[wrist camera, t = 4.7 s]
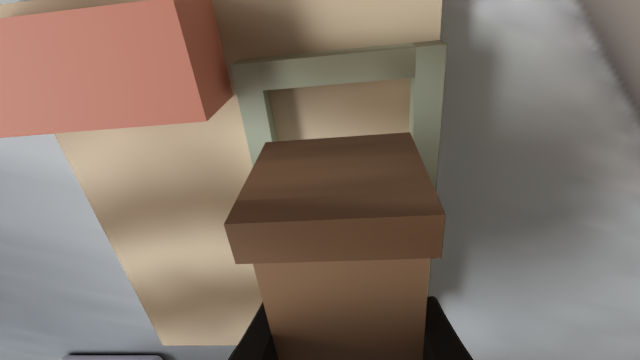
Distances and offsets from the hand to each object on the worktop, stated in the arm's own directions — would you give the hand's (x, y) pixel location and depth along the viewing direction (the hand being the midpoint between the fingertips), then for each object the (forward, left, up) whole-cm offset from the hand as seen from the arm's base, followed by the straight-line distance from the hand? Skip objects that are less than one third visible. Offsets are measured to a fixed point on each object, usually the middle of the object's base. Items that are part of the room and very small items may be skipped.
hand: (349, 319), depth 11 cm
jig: (0, +5, -7) cm, 9 cm away
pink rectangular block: (+8, +8, -6) cm, 13 cm away
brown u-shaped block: (0, 0, -2) cm, 2 cm away
